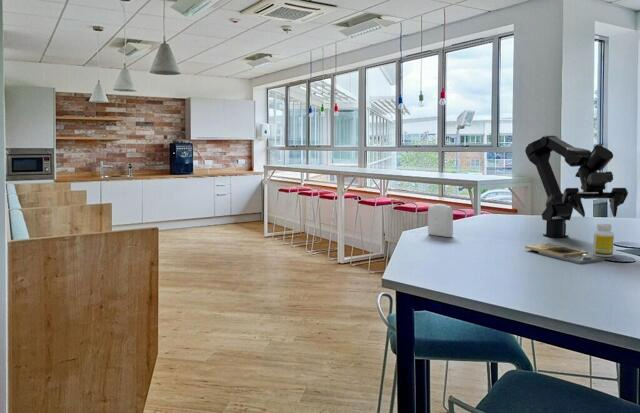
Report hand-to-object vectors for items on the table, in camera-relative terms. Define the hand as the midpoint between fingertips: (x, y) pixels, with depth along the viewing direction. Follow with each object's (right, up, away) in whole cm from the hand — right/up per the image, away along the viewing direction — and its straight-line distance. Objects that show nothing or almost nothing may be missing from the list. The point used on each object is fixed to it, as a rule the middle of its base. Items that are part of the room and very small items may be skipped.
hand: (599, 216), depth 169 cm
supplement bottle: (-1, -12, -3) cm, 13 cm away
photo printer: (-43, -8, +36) cm, 57 cm away
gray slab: (-13, -12, -2) cm, 18 cm away
